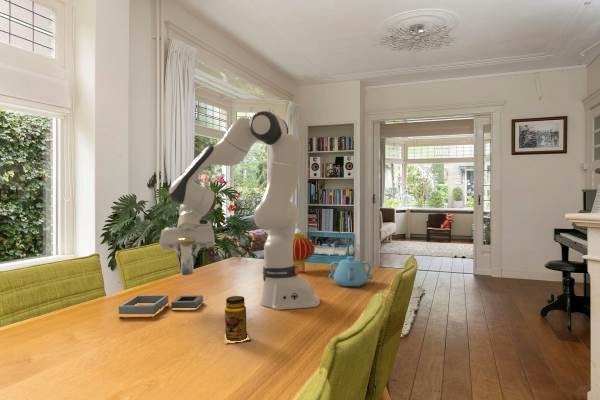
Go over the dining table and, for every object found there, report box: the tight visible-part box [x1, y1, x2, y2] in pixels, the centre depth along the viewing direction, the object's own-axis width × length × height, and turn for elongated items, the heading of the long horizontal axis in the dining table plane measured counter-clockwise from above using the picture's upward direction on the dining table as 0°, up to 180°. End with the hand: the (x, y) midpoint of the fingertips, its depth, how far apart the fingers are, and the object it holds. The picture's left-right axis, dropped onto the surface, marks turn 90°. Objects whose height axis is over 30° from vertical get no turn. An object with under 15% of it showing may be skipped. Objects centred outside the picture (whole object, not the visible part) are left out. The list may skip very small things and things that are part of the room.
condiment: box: [224, 295, 249, 341], centre depth 112 cm, size 7×8×12 cm
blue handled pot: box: [328, 255, 373, 288], centre depth 172 cm, size 20×20×13 cm
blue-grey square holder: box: [170, 294, 204, 309], centre depth 144 cm, size 9×9×3 cm
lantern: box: [293, 232, 316, 274], centre depth 202 cm, size 17×17×30 cm
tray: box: [118, 294, 169, 315], centre depth 139 cm, size 12×14×4 cm
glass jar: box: [178, 237, 195, 276], centre depth 144 cm, size 6×6×13 cm
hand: (186, 255), depth 143 cm, fingers closed on glass jar, 4 cm apart
